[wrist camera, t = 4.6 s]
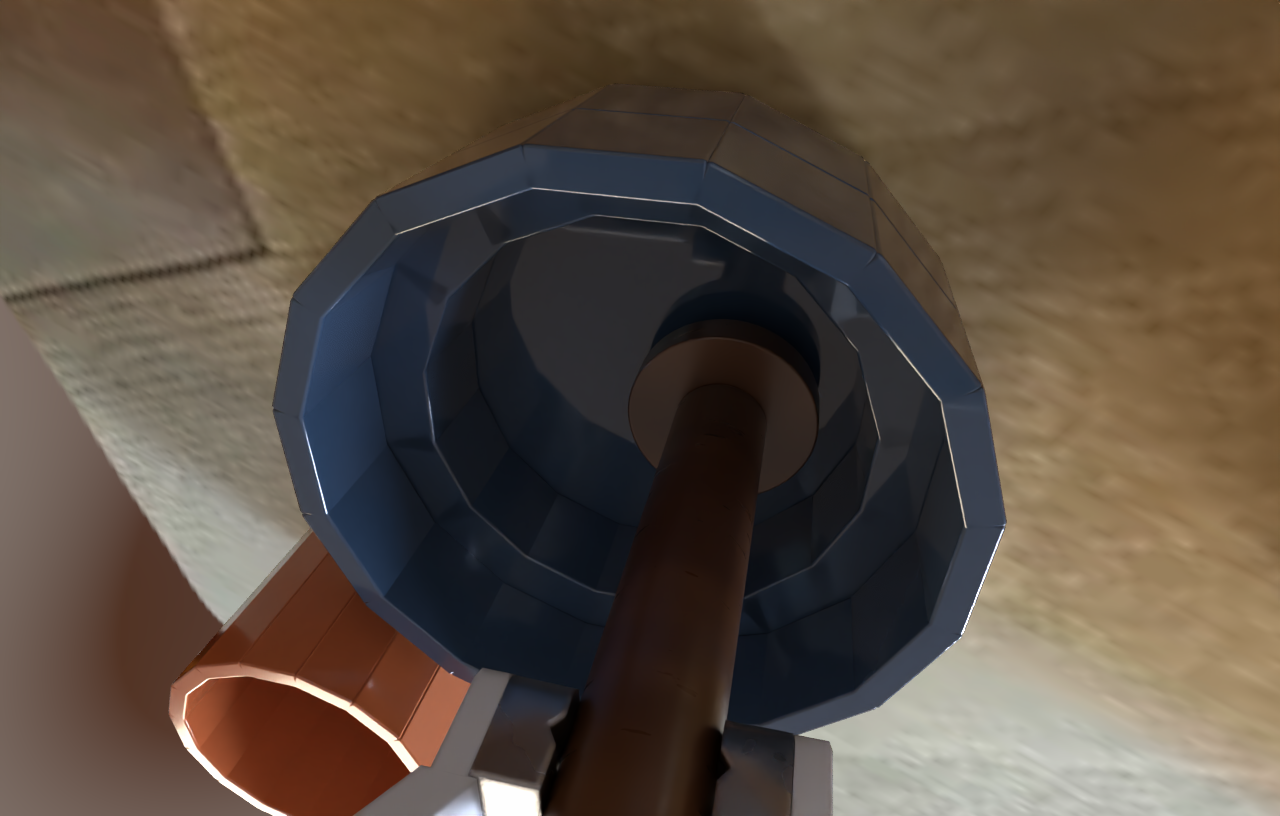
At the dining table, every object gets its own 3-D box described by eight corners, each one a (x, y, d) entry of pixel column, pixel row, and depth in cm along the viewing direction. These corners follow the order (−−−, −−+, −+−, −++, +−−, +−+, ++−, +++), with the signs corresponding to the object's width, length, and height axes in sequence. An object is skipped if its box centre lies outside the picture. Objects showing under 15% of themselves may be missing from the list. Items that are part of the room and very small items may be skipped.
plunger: (638, 306, 18) (344, 872, 7) (834, 331, 17) (835, 1006, 6) (633, 460, 20) (409, 1049, 10) (804, 487, 20) (766, 1159, 9)
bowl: (383, 59, 18) (187, 114, 12) (1031, 106, 15) (1138, 198, 10) (448, 521, 25) (345, 678, 20) (883, 599, 23) (898, 800, 18)
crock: (314, 453, 25) (129, 638, 18) (529, 489, 24) (412, 702, 17) (354, 610, 29) (213, 807, 23) (539, 648, 28) (448, 868, 21)
